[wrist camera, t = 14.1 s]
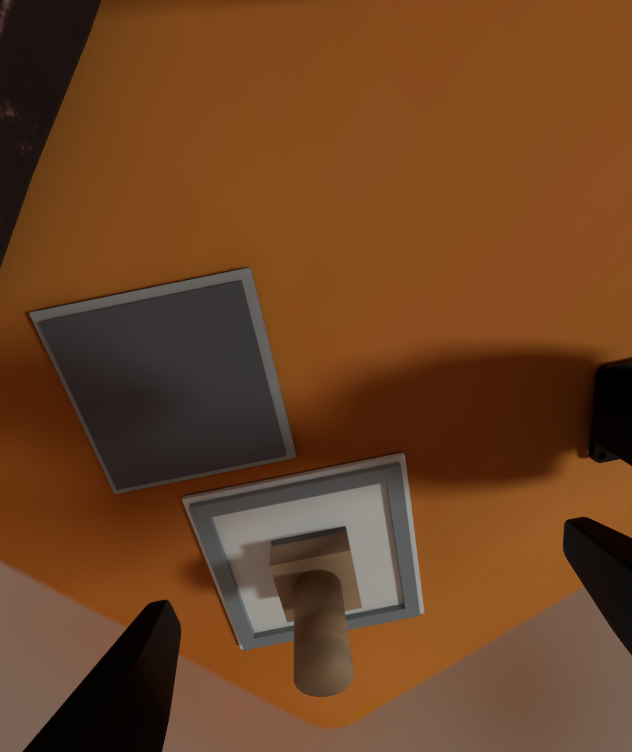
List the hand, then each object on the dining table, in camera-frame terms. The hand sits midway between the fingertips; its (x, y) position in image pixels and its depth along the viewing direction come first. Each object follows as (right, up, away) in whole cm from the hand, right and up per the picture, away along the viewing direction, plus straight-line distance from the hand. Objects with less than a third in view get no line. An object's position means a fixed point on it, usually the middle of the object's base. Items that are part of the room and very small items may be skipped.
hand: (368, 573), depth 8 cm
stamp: (-1, -8, +16) cm, 18 cm away
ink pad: (-9, +4, +12) cm, 15 cm away
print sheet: (-1, -8, +17) cm, 19 cm away
